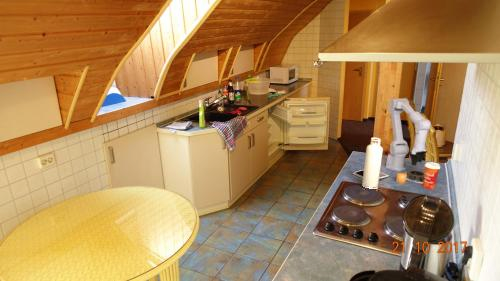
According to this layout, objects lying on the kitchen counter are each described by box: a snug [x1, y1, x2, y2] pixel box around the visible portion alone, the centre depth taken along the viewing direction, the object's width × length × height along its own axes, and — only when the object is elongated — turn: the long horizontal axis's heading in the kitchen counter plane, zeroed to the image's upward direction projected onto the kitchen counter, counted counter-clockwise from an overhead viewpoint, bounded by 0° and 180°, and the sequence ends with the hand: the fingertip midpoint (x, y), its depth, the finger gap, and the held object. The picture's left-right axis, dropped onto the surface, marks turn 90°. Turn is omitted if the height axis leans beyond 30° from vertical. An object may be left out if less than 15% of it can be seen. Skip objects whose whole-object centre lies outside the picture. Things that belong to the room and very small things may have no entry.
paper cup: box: [422, 161, 441, 190], centre depth 191 cm, size 8×8×14 cm
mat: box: [404, 172, 423, 185], centre depth 206 cm, size 14×12×1 cm
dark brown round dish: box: [406, 169, 424, 183], centre depth 204 cm, size 11×11×3 cm
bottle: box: [361, 137, 384, 190], centre depth 187 cm, size 8×8×28 cm
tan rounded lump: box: [395, 171, 407, 185], centre depth 198 cm, size 5×5×6 cm
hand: (416, 163), depth 201 cm, fingers open, 7 cm apart
